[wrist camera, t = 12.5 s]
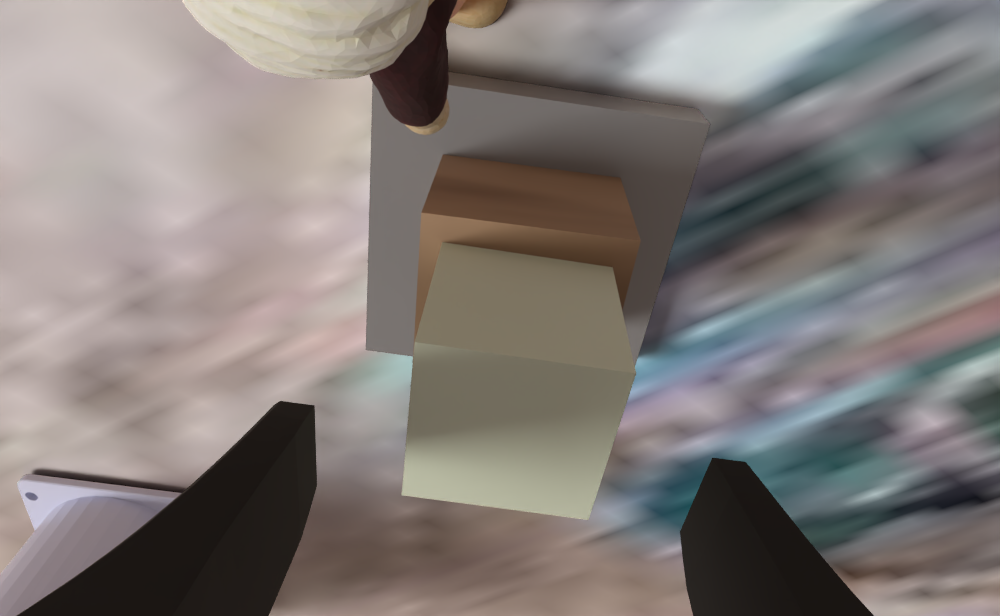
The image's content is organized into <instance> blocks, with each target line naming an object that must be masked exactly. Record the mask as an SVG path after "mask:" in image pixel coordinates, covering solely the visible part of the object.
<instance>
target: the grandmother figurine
mask: <svg viewBox="0 0 1000 616" xmlns="http://www.w3.org/2000/svg"><path fill="white" fill-rule="evenodd" d="M182 1H183V3H184V5H185V6H186V8H187V9H188V10H189V11H190V13H191V14H192V15H193V17H194V18H195V19H196V20H197V22H198V23H199V24H200V25H202V26H203V27H204V28H205V29H206V30H207V31H208V32H210V33H211V34H213V35H214V36H216V37H217V38H219V39H220V40H222V41H224V42H225V43H226V44H227V45H228V46H229V47H230V48H231V49H232V50H233V51H235V52H236V53H237V54H238V55H240V56H241V57H242V58H243V59H245V60H246V61H247V62H248V63H250V64H251V65H252V66H255V67H257V68H259V69H261V70H263V71H266V72H270V73H274V74H278V75H283V76H287V77H291V78H310V79H321V78H326V79H345V78H357V77H361V76H365V75H368V74H370V77H371V79H372V81H373V83H374V85H375V86H376V88H377V89H378V91H379V93H380V95H381V97H382V99H383V101H384V103H385V106H386V108H387V109H388V111H389V112H390V114H391V115H392V116H393V117H394V118H395V119H397V120H398V121H399V122H400V123H402V124H405V125H406V126H407V127H408V128H409V129H410V130H411V131H413V132H415V133H418V134H422V135H430V134H434V133H436V132H438V131H439V130H440V129H442V128H443V127H444V126H445V124H446V122H447V120H448V117H449V111H450V108H449V103H448V99H447V91H448V84H449V74H448V50H447V43H446V28H447V26H448V23H449V22H452V23H455V24H458V25H461V26H465V27H469V28H483V27H486V26H488V25H490V24H492V23H494V22H495V21H496V20H497V19H498V18H499V17H500V15H501V14H502V12H503V11H504V9H505V7H506V4H507V1H508V0H182Z"/></svg>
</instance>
